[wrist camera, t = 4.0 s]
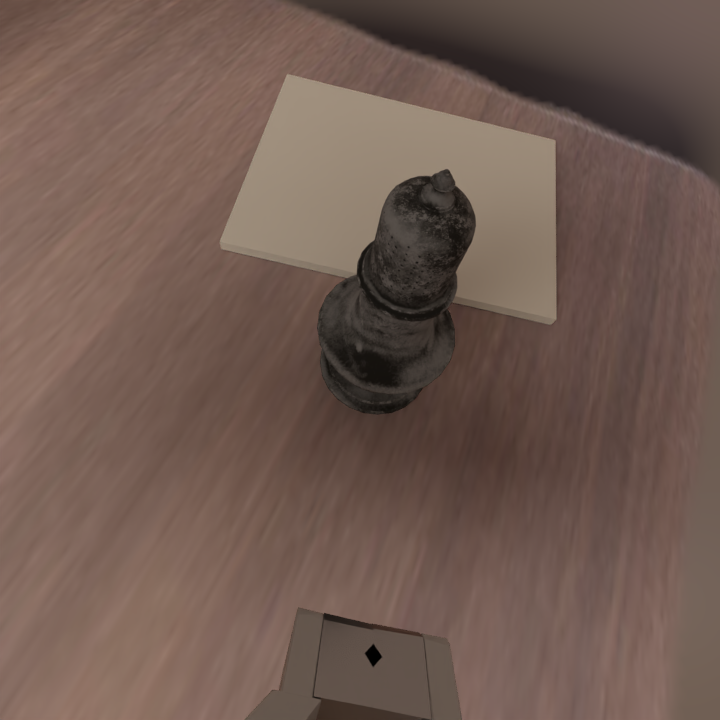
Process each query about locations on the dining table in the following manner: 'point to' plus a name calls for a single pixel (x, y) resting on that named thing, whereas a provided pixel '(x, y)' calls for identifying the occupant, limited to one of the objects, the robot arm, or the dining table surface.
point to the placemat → (380, 176)
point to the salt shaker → (398, 299)
